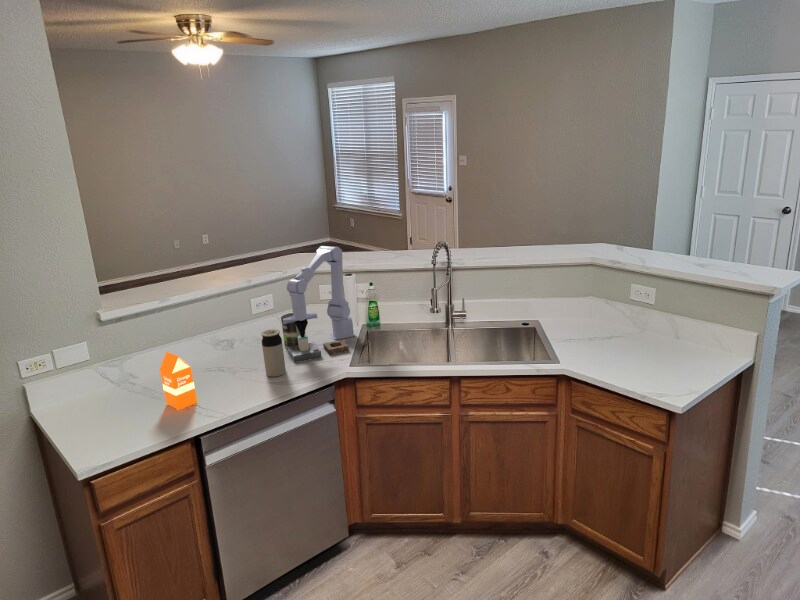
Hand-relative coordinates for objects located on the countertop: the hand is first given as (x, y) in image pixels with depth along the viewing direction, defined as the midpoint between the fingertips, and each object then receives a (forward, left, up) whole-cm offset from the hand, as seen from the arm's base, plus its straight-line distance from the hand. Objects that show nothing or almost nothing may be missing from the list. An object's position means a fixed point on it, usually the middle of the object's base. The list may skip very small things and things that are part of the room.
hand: (302, 336), depth 249 cm
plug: (0, 0, -9) cm, 9 cm away
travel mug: (+15, +13, -9) cm, 22 cm away
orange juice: (+52, +23, -9) cm, 58 cm away
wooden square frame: (-14, +1, -9) cm, 17 cm away
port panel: (0, 0, -9) cm, 9 cm away
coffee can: (+1, -15, -9) cm, 18 cm away
